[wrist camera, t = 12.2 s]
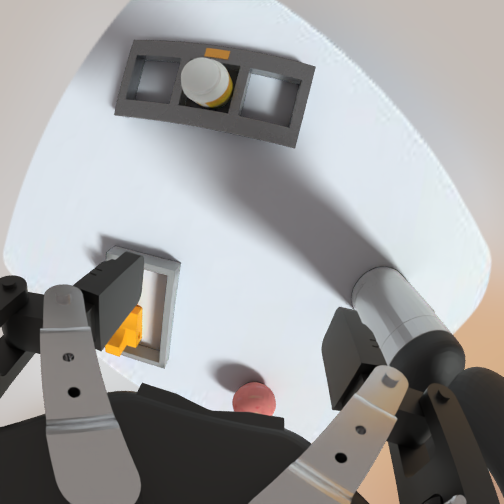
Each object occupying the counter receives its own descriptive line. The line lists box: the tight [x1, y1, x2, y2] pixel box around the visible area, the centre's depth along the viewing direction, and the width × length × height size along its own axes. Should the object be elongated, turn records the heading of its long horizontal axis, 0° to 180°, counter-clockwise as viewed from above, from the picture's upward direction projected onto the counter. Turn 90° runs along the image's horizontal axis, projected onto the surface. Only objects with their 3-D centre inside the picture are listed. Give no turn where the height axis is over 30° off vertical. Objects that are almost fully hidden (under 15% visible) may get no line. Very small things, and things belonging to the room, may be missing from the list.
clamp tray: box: [106, 246, 181, 368], centre depth 45 cm, size 11×19×3 cm, turn 167°
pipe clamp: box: [105, 306, 142, 357], centre depth 44 cm, size 12×4×6 cm, turn 168°
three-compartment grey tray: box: [114, 40, 315, 148], centre depth 33 cm, size 24×11×3 cm, turn 77°
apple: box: [232, 382, 276, 416], centre depth 48 cm, size 7×7×8 cm
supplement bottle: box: [181, 58, 234, 109], centre depth 30 cm, size 5×5×10 cm
